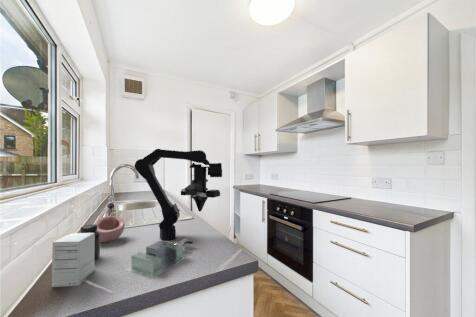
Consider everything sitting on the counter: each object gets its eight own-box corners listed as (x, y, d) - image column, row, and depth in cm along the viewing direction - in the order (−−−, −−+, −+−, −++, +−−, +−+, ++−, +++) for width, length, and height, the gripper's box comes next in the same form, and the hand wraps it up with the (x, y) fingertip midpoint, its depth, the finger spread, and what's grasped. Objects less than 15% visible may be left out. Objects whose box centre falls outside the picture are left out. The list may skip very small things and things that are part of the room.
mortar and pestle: (94, 249, 81) (94, 220, 81) (91, 240, 90) (91, 215, 90) (127, 241, 89) (127, 215, 89) (121, 234, 98) (121, 210, 98)
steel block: (146, 265, 66) (146, 246, 66) (160, 257, 71) (160, 240, 72) (155, 268, 64) (156, 249, 64) (169, 260, 69) (169, 242, 70)
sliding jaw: (154, 255, 73) (154, 244, 73) (177, 244, 83) (177, 234, 83) (175, 261, 68) (175, 249, 68) (196, 248, 79) (196, 238, 79)
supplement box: (70, 273, 63) (71, 232, 63) (95, 272, 63) (95, 232, 64) (50, 287, 55) (51, 241, 56) (78, 286, 56) (79, 240, 56)
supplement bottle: (104, 256, 74) (104, 224, 74) (85, 265, 67) (85, 229, 68) (91, 254, 76) (92, 222, 76) (71, 262, 70) (72, 227, 70)
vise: (124, 272, 63) (124, 257, 63) (171, 248, 81) (171, 236, 81) (151, 281, 58) (151, 265, 58) (194, 254, 76) (194, 241, 76)
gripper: (172, 178, 90) (172, 213, 89) (206, 179, 82) (206, 217, 81) (188, 176, 100) (188, 208, 99) (220, 177, 92) (220, 211, 91)
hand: (200, 211), depth 92 cm, fingers closed
